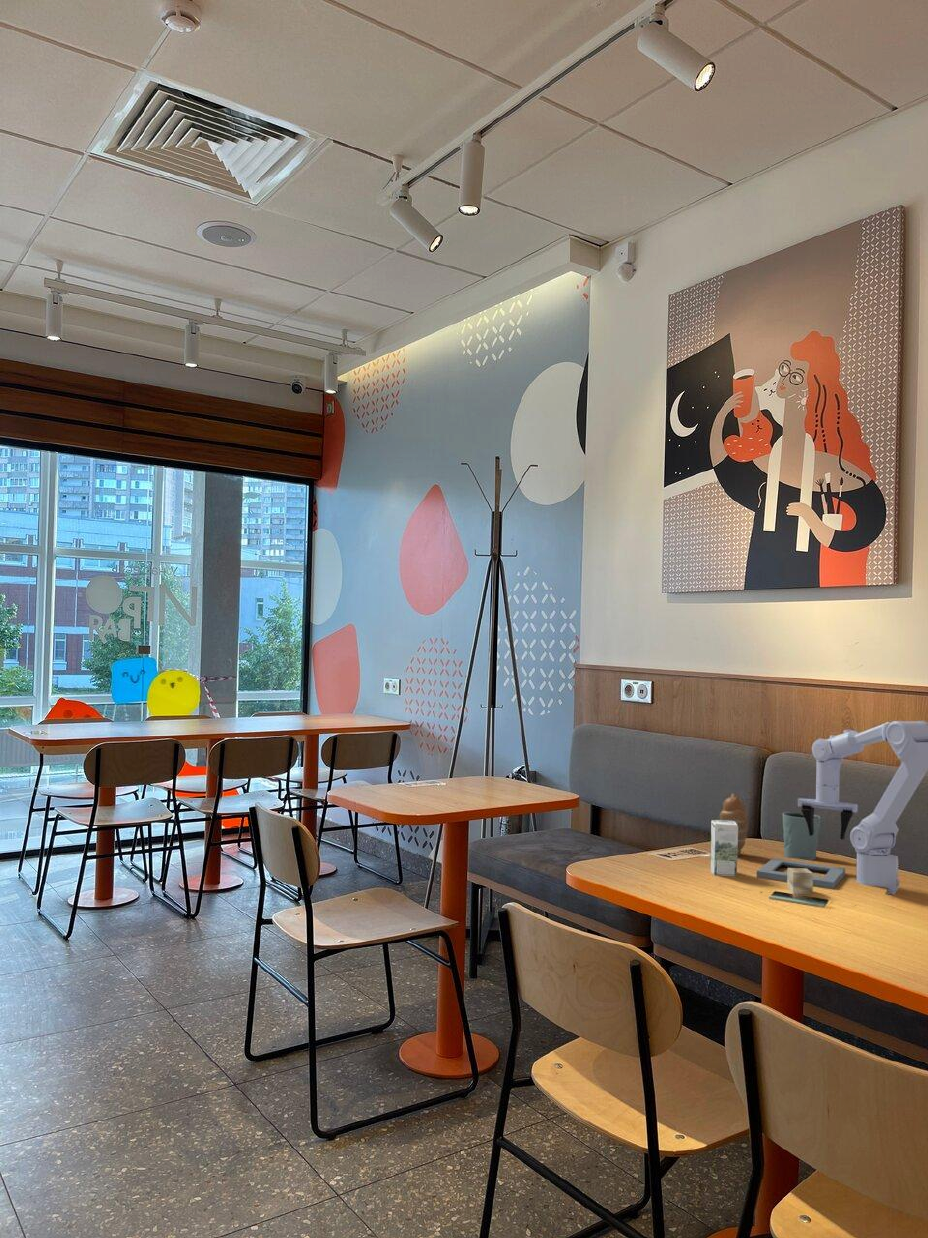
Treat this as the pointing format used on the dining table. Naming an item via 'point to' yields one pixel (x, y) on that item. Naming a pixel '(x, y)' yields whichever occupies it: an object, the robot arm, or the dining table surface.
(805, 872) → the maple block
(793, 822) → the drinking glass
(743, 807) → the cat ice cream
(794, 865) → the box
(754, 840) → the dining table surface
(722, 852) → the syrup box
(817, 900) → the zone pad
